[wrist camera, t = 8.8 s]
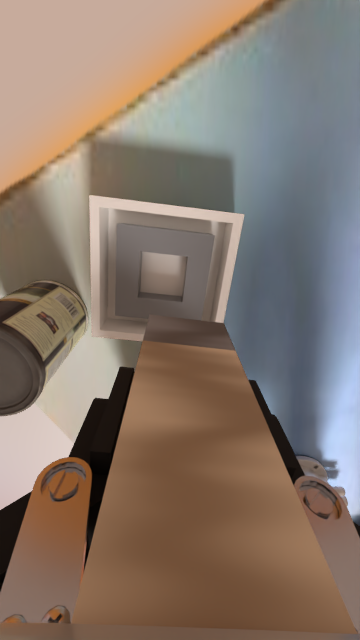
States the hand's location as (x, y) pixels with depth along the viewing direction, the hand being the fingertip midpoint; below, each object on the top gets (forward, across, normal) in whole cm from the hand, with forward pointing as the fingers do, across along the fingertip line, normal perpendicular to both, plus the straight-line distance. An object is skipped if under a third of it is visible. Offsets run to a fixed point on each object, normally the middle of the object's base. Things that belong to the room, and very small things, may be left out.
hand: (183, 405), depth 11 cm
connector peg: (+4, 0, 0) cm, 4 cm away
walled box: (+26, +2, 0) cm, 26 cm away
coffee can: (+26, +17, +8) cm, 32 cm away
